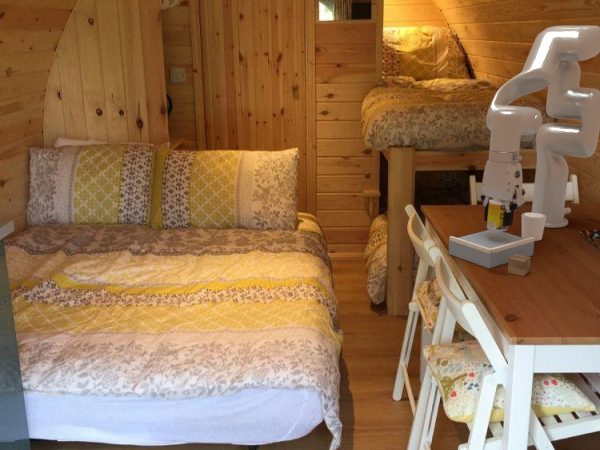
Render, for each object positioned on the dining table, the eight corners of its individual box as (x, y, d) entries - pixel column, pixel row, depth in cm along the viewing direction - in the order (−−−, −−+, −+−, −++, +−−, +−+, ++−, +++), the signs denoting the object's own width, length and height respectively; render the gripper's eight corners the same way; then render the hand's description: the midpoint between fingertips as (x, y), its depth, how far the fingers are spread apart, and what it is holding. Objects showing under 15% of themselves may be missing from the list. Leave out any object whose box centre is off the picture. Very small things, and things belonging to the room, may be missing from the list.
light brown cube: (513, 268, 166) (515, 253, 165) (529, 272, 163) (530, 257, 162) (507, 272, 163) (509, 258, 162) (523, 276, 160) (524, 261, 159)
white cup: (515, 237, 190) (517, 215, 188) (525, 232, 195) (527, 210, 193) (538, 242, 186) (540, 219, 184) (547, 237, 190) (550, 214, 188)
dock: (491, 242, 186) (493, 225, 185) (532, 255, 175) (534, 237, 174) (448, 253, 177) (449, 236, 175) (489, 268, 166) (490, 250, 164)
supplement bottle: (498, 233, 171) (501, 196, 168) (482, 228, 176) (485, 192, 173) (512, 230, 174) (515, 193, 171) (496, 225, 179) (499, 189, 176)
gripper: (540, 160, 165) (533, 228, 170) (487, 150, 178) (482, 213, 183) (522, 163, 161) (515, 232, 166) (468, 153, 174) (464, 217, 179)
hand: (498, 222), depth 174 cm, fingers closed on supplement bottle, 5 cm apart
